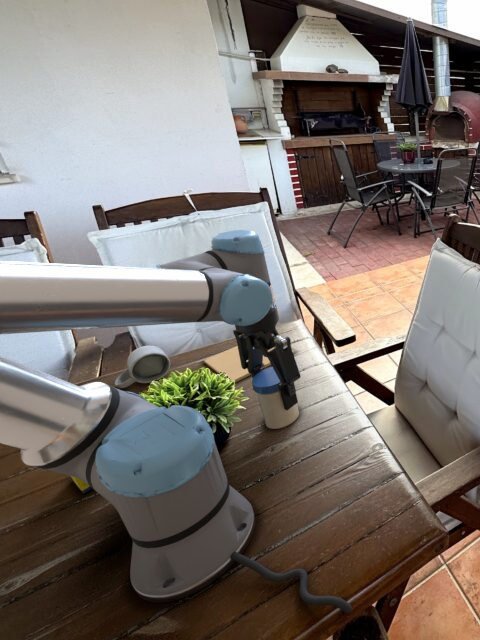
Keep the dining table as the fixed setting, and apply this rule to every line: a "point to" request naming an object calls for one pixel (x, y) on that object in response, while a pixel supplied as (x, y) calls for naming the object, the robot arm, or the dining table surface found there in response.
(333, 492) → the dining table surface
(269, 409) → the jar
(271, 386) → the lid
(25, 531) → the dining table surface
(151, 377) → the ceramic mug
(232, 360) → the mat
